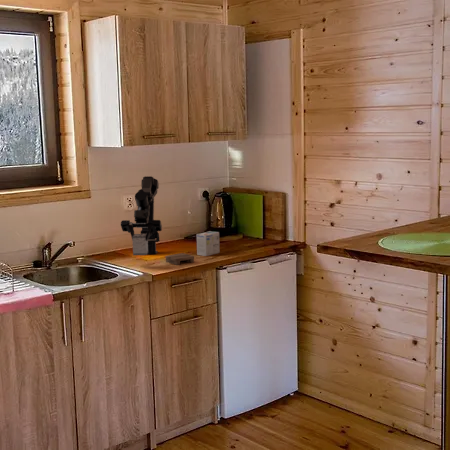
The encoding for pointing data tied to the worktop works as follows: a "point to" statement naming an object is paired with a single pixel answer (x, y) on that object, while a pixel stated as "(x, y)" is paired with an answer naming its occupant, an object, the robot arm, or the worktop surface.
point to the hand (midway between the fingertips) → (139, 240)
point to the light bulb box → (208, 243)
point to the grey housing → (140, 244)
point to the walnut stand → (179, 258)
